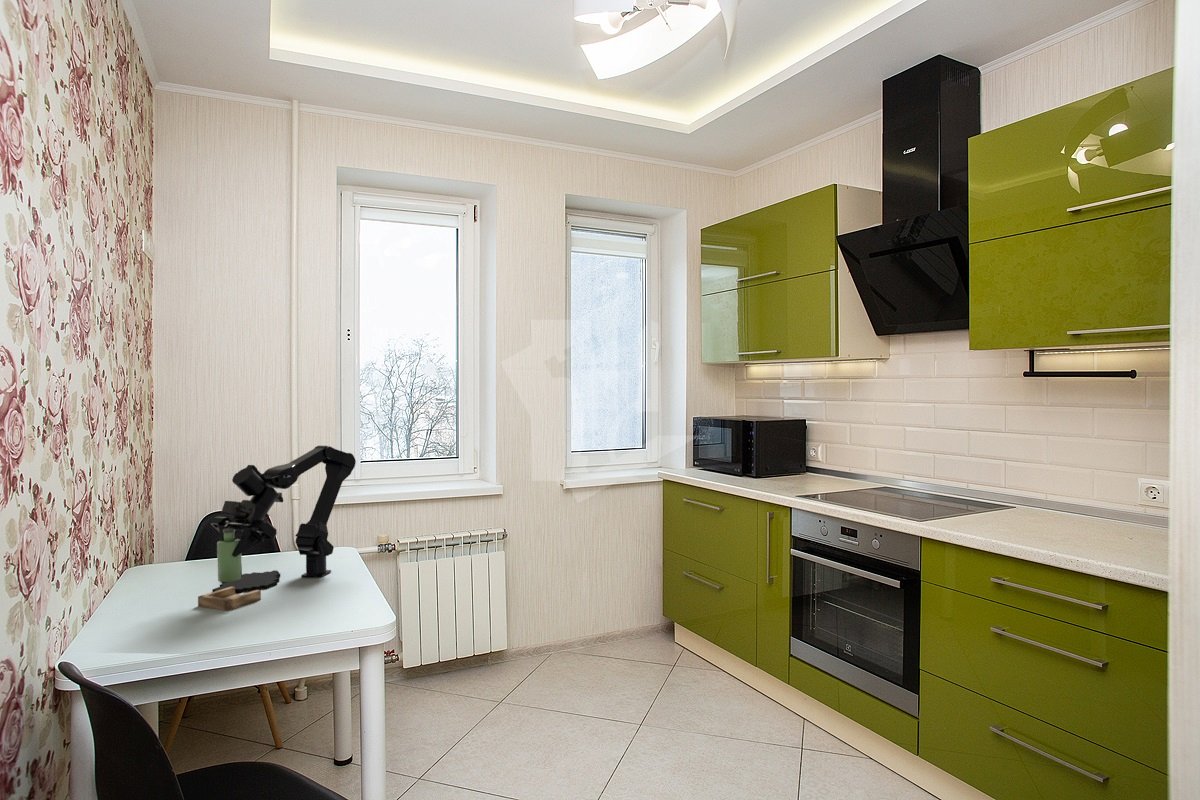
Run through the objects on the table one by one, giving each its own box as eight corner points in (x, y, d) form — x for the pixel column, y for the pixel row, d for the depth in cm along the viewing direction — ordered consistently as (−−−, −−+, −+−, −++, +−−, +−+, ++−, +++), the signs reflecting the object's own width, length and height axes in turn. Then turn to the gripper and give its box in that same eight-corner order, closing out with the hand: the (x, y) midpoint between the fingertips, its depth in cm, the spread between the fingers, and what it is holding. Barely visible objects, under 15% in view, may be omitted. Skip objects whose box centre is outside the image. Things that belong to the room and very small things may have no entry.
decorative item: (242, 569, 215) (300, 571, 211) (242, 573, 215) (300, 576, 211) (184, 589, 192) (247, 593, 188) (184, 595, 192) (247, 598, 188)
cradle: (231, 595, 190) (231, 586, 190) (260, 599, 186) (260, 590, 186) (198, 606, 181) (197, 596, 181) (228, 610, 177) (228, 600, 177)
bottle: (238, 574, 187) (237, 525, 187) (244, 578, 183) (243, 528, 183) (215, 579, 183) (214, 528, 183) (221, 583, 179) (220, 531, 179)
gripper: (215, 487, 190) (179, 535, 180) (266, 490, 183) (231, 540, 173) (240, 511, 197) (207, 558, 187) (291, 514, 191) (258, 564, 181)
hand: (225, 555), depth 182 cm, fingers closed on bottle, 6 cm apart
